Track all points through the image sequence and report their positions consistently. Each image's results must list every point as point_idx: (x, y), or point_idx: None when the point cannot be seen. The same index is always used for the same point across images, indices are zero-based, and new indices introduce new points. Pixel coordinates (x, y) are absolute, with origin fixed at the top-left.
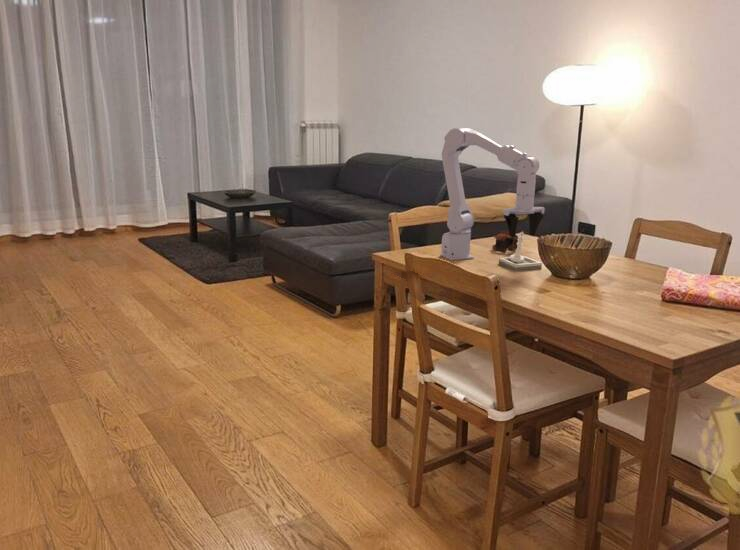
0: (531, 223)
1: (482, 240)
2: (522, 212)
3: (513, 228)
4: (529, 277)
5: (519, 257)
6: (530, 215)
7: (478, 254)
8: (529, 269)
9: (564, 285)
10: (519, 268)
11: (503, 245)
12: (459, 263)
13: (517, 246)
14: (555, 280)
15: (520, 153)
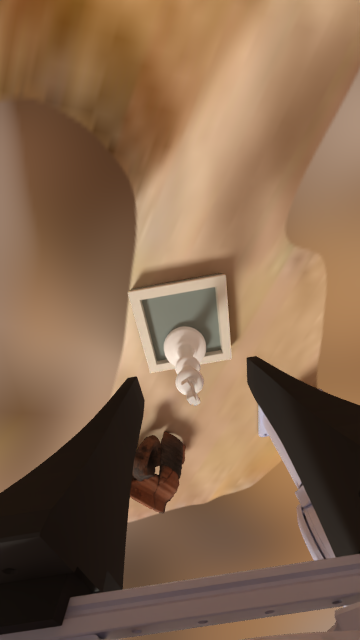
0: (125, 460)
1: (169, 506)
2: (259, 614)
3: (299, 380)
4: (214, 188)
5: (183, 340)
6: (113, 561)
7: (229, 426)
8: (173, 281)
9: (133, 19)
10: (208, 276)
11: (168, 452)
12: (316, 364)
13: None
14: (140, 122)
15: None
